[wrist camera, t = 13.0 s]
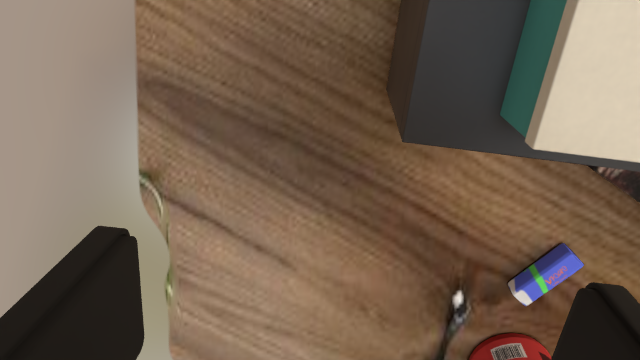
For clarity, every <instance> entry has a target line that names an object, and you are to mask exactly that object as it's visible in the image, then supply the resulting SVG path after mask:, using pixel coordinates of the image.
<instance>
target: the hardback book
mask: <svg viewBox="0 0 640 360" xmlns="http://www.w3.org/2000/svg"><path fill="white" fill-rule="evenodd" d="M587 166H589V167H590V168H591V169H593V170H594V171H595V172H597V173H598V174H600V175H601V176H602V177H604V178H605V179H607V180H608V181H610V182H611V183H612V184H614V185H615V186H617V187H618V188H619V189H621V190H622V191H624V192H625V193H626V194H628V195H629V196H631V197H632V198H633V199H635V200H636V201H638V202H639V203H640V172H638V171H630V170H622V169H614V168H606V167H598V166H590V165H587Z"/></svg>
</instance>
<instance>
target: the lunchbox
mask: <svg viewBox="0 0 640 360" xmlns="http://www.w3.org/2000/svg"><path fill="white" fill-rule="evenodd" d="M500 115H501V116H502V117H503V118H504V119H505V120H506V121H507V122H508V123H510V124H511V125H512V126H513V127H514V128H515V129H516V130H517V131H518V132H520V133H521V134H522V135H523V136H524V137H525V138H526V139H525V142H526V143H527V144H528V145H529V146H530V147H531V148H532V149H535V150H543V151H551V152H559V153H567V154H575V155H582V156H590V157H598V158H606V159H614V160H622V161H630V162H638V163H640V0H531V1H530V5H529V9H528V13H527V16H526V20H525V24H524V27H523V31H522V35H521V38H520V42H519V46H518V49H517V53H516V57H515V61H514V64H513V68H512V72H511V75H510V79H509V83H508V86H507V90H506V94H505V97H504V101H503V105H502V108H501V112H500Z"/></svg>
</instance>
